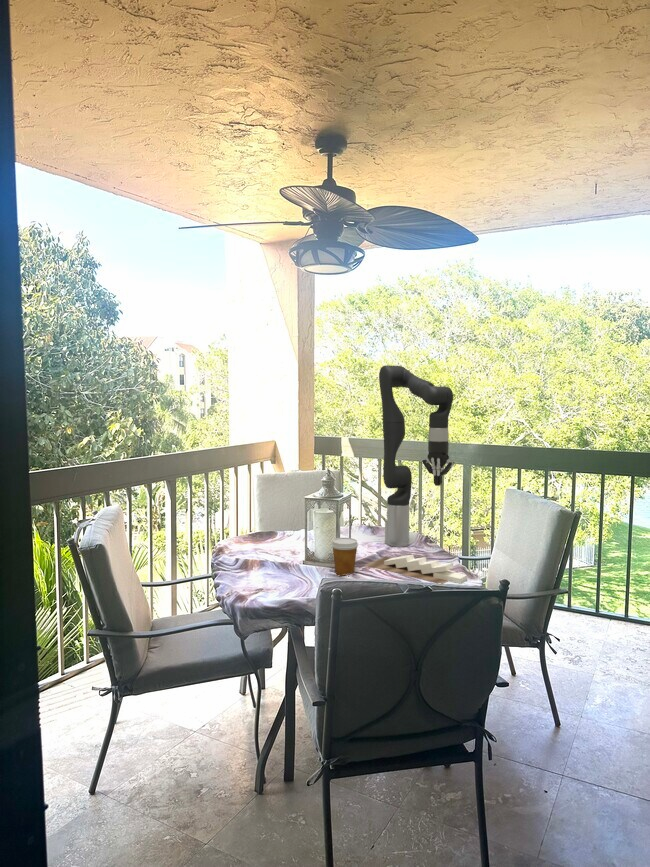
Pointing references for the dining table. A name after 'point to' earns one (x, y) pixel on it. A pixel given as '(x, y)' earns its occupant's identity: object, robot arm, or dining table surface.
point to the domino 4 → (438, 568)
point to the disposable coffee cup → (344, 555)
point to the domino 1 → (399, 560)
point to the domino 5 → (450, 576)
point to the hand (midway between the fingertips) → (437, 485)
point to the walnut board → (404, 571)
